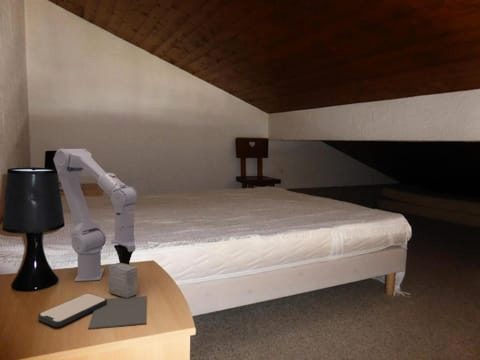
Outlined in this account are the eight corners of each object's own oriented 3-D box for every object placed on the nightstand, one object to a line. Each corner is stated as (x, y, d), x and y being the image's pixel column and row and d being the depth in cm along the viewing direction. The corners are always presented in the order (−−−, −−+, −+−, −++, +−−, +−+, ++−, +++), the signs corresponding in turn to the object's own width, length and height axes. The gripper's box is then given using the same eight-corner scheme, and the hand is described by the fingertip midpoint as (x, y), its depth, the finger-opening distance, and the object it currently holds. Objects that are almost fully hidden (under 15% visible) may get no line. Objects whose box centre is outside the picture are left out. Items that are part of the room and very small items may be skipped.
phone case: (88, 297, 106) (35, 320, 92) (88, 292, 106) (35, 314, 92) (109, 304, 102) (57, 329, 88) (109, 298, 101) (57, 323, 87)
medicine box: (137, 294, 109) (138, 266, 108) (126, 299, 105) (126, 270, 104) (120, 288, 113) (120, 262, 112) (108, 293, 109) (108, 265, 108)
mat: (97, 300, 104) (97, 299, 104) (146, 297, 108) (146, 295, 108) (88, 329, 89) (88, 327, 89) (146, 324, 92) (146, 322, 92)
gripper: (105, 222, 116) (105, 262, 117) (118, 232, 104) (118, 277, 106) (127, 219, 120) (126, 258, 122) (142, 229, 108) (141, 272, 110)
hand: (124, 267), depth 114 cm, fingers closed
